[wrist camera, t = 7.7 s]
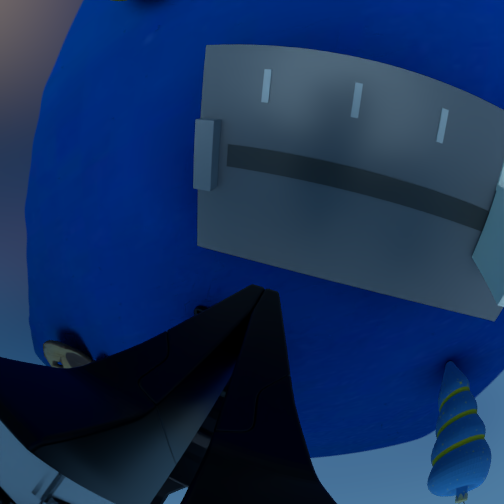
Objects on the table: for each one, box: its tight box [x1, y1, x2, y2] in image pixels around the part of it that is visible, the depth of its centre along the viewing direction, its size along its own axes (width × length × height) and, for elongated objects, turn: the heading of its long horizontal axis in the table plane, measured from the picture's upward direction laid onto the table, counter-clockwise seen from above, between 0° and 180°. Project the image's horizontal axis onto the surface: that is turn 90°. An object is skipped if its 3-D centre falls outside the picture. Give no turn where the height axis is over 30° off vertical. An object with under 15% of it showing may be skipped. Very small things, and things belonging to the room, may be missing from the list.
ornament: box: [427, 361, 491, 503], centre depth 15 cm, size 5×5×15 cm
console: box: [193, 45, 504, 321], centre depth 15 cm, size 14×24×3 cm, turn 84°
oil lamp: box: [43, 340, 95, 368], centre depth 44 cm, size 22×30×8 cm
